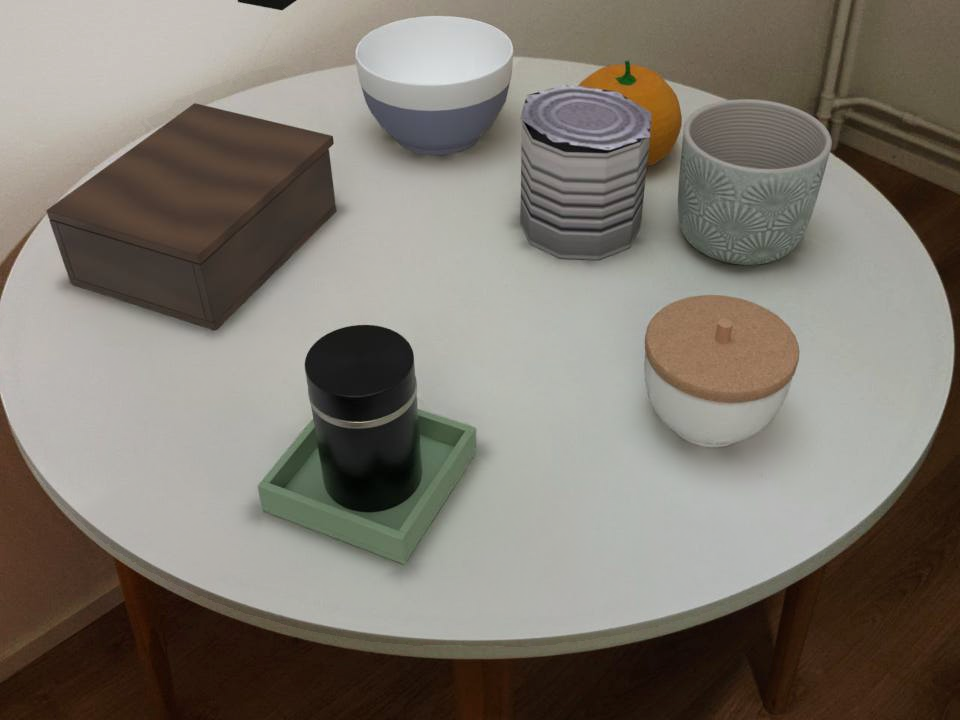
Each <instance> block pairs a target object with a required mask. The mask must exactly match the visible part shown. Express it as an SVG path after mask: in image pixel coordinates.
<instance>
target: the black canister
mask: <svg viewBox="0 0 960 720" xmlns="http://www.w3.org/2000/svg"><path fill="white" fill-rule="evenodd" d="M415 367H416V365H415V354H414V350H413V347H412V346H411V344H410V342H409V341H408V340H407V339H406V338H405V337H404V336H403V335H401V334H400V333H399V332H397V331H395V330H393V329H390V328H388V327H384V326H381V325H374V324H356V325H355V324H354V325H347V326H343V327H340V328H337V329H335V330H333V331H330V332H328V333H326V334H325V335H323V336H322V337H320V338H318V340H316V341H315V342H314V343H313V344H312V346H311V347H310V348H309V350H308V351H307V353H306V356H305V359H304V371H305V379H306V384H307V394H308V395H307V396H308V400H309V404H310V408H311V414H312V419H313V421H314V427H315V433H316V439H317V445H318V451H319V457H320V463H321V469H322V475H323V481H324V486H325V489H326V491H327V493H328V494H329V496H330V497H331V498H332V499H333V500H334V501H335V502H336V503H338V504H339V505H341V506H343V507H345V508H347V509H350V510H354V511H359V512H379V511H384V510H388V509H391V508H393V507H396V506H398V505H400V504H401V503H403V502H405V501H406V500H407V499H408V498H410V497H411V496H412V495H413V493H414V492H415V491H416V490H417V488H418V486H419V484H420V481H421V478H422V462H421V448H420V434H419V420H418V409H419V408H418V395H417V393H418V392H417V391H418V385H417V384H418V383H417V376H416V368H415Z"/></svg>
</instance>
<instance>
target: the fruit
mask: <svg viewBox="0 0 960 720" xmlns="http://www.w3.org/2000/svg"><path fill="white" fill-rule="evenodd" d="M577 86H581V87H588V88H595V89H602V90H609V91H616V92H618V93H620V94H622V95H623V96H625V97H626V98H628V99H630V100H631V101H633V102H635V103H636V104H638V105H639V106H641V107H643V108H644V109H646V110H648V111H649V112H651V132H650V142H649V151H648V160H647V167H650V166H652V165H654V164H657V163H658V162H660V161H661V160H662V159H664V158H665V157H666V156H667V155H669V154H670V153H671V151H672V150H673V149H674V147H675V145H676V143H677V141H678V138H679V135H680V134H681V130H682V126H683V125H682V124H683V123H682V121H683V116H682V110H681V106H680V101H679V98H678V96H677V93H675V91H674V89H673V88H672V87H671V86H670V85H669V83H667V81H666V80H665V79H664V78H663V77H662V76H661V75H660V74H658V73H657V72H655V71H654V70H652V69H650V68H647V67H645V66H641V65H635V64H631V63H630V60H625V61H624V64H623V63H621V64H612V65H606V66H603V67H601V68H599V69H597V70H595V71H594V72H592V73H591V74H589V75H587V76H586V77H585V78H584V79H583V80H581V82H580V83H579V84H578V85H577Z"/></svg>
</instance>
